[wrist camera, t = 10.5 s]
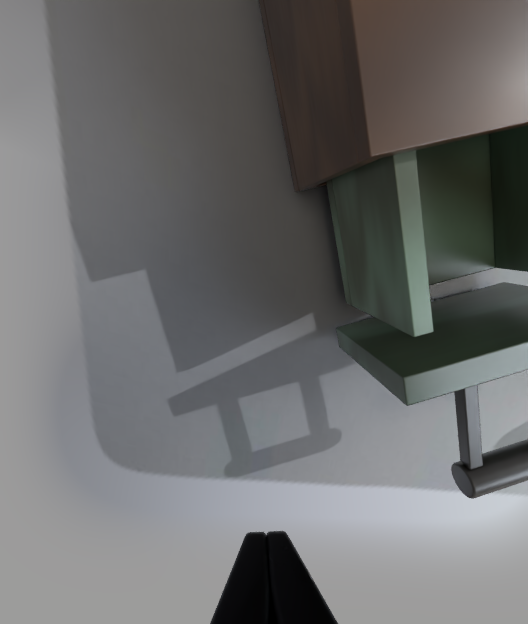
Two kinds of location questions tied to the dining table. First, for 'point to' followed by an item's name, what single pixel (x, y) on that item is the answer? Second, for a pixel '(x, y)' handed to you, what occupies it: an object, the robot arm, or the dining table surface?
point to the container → (437, 268)
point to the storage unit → (392, 77)
